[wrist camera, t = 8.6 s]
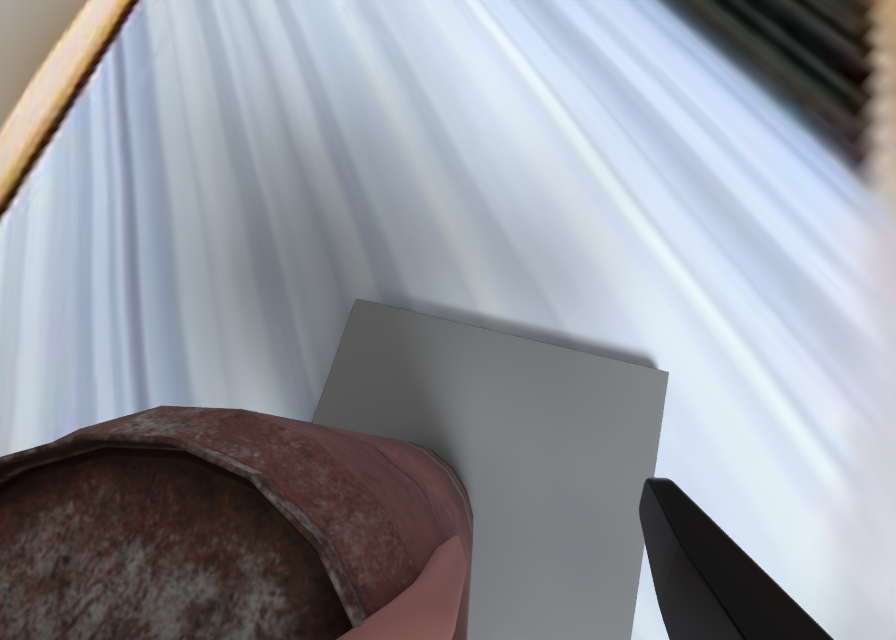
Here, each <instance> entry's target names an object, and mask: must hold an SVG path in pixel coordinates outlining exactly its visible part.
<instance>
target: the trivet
mask: <svg viewBox="0 0 896 640" xmlns="http://www.w3.org/2000/svg"><path fill="white" fill-rule="evenodd" d="M668 375H669V372H666V371H662V370H658V369H653V368H649V367H645V366H641V365H636V364H632V363H628V362H624V361H619V360H615V359H611V358H607V357H602V356H598V355H594V354H590V353H585V352H581V351H577V350H573V349H568V348H564V347H560V346H556V345H552V344H547V343H543V342H539V341H535V340H530V339H526V338H522V337H518V336H513V335H509V334H505V333H501V332H496V331H492V330H488V329H484V328H479V327H475V326H471V325H467V324H462V323H458V322H454V321H450V320H445V319H441V318H437V317H433V316H428V315H424V314H420V313H416V312H412V311H407V310H403V309H399V308H395V307H390V306H386V305H382V304H378V303H373V302H369V301H365V300H361V299H356V300H355V303H354V305H353V308H352V311H351V314H350V317H349V320H348V322H347V325H346V328H345V331H344V334H343V337H342V340H341V342H340V345H339V348H338V351H337V354H336V357H335V359H334V362H333V365H332V368H331V371H330V374H329V376H328V379H327V382H326V385H325V388H324V391H323V393H322V396H321V399H320V402H319V405H318V408H317V411H316V413H315V416H314V419H313V422H312V423H314V424H319V425H325V426H330V427H335V428H340V429H345V430H350V431H355V432H360V433H365V434H370V435H376V436H381V437H386V438H391V439H396V440H401V441H406V442H411V443H414V444H417V445H419V446H422V447H424V448H427V449H429V450H432V451H434V452H435V453H437V454H438V455H439V456H440V457H441V458H442V459H444V460H445V461H446V462H447V463H448V464H449V465H451V466H452V467H453V469H454V470H455V472H456V473H457V475H458V477H459V478H460V480H461V481H462V483H463V485H464V486H465V488H466V490H467V493H468V497H469V501H470V505H471V508H472V512H473V516H474V518H473V550H472V566H471V582H470V598H469V615H468V631H467V640H631V634H632V627H633V620H634V613H635V606H636V599H637V592H638V585H639V578H640V571H641V564H642V557H643V550H644V543H645V541H644V536H643V531H642V527H641V522H640V517H639V503H640V499H641V495H642V491H643V486H644V482H645V480H646V479H647V478H650V477H651V478H654V473H655V466H656V459H657V452H658V445H659V438H660V431H661V424H662V417H663V410H664V403H665V396H666V389H667V382H668Z"/></svg>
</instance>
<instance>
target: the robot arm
mask: <svg viewBox="0 0 896 640" xmlns="http://www.w3.org/2000/svg"><path fill="white" fill-rule="evenodd" d="M639 517H640V522H641V527H642V531H643V536H644V541H645V545H646V550H647V554H648V559H649V564H650V568H651V573H652V577H653V582H654V587H655V591H656V595H657V600H658V604H659V607H660V611H661V614H662V618H663V621H664V624H665V627H666V630H667V633H668V636H669V639H670V640H834V639H833V638H832V637H831V636H830V635H829V634H828V633H827V632H826V631H825V630H824V629H823V628H822V627H821V626H820V625H819V624H818V623H816V622H815V621H814V620H813V619H812V618H811V617H810V616H809V615H808V614H807V613H806V612H805V611H804V610H803V609H802V608H801V607H800V606H799V605H798V604H797V603H796V602H795V601H794V600H793V599H792V598H791V597H790V596H789V595H788V594H787V593H786V592H785V591H784V590H783V589H782V588H781V587H780V586H779V585H778V584H777V583H776V582H775V581H774V580H773V579H772V578H771V577H770V576H769V575H768V574H767V573H766V572H765V571H764V570H763V569H762V568H761V567H760V566H759V565H758V564H757V563H756V562H755V561H753V560H752V559H751V558H750V557H749V556H748V555H747V554H746V553H745V552H744V551H743V550H742V549H741V548H740V547H739V546H738V545H737V544H736V543H735V542H734V541H733V540H732V539H731V538H730V537H729V536H728V535H727V534H726V533H725V532H724V531H723V530H722V529H721V528H720V527H719V526H718V525H717V524H716V523H715V522H714V521H713V520H712V519H711V518H710V517H709V516H708V515H707V514H706V513H705V512H704V511H703V510H702V509H701V508H700V507H699V506H698V505H697V504H696V503H695V502H694V501H693V500H691V499H690V498H689V497H688V496H687V495H686V494H685V493H684V492H683V491H682V490H681V489H680V488H679V487H678V486H677V485H676V484H675V483H674V482H673V481H672V480H670V479H667V478H651V477H650V478H647V479H646V480H645V482H644V486H643V491H642V495H641V499H640V503H639Z"/></svg>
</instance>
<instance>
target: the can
mask: <svg viewBox="0 0 896 640" xmlns="http://www.w3.org/2000/svg"><path fill="white" fill-rule="evenodd" d="M473 518H474V516H473V512H472V508H471V505H470V501H469V497H468V493H467V490H466V488H465V486H464V485H463V483H462V481H461V480H460V478H459V477H458V475H457V473H456V472H455V470H454V469H453V467H452V466H451V465H449V464H448V463H447V462H446V461H445V460H444V459H442V458H441V457H440V456H439V455H438V454H437V453H435V452H434V451H432V450H429V449H427V448H424V447H422V446H419V445H417V444H414V443H411V442H406V441H401V440H396V439H391V438H386V437H381V436H376V435H370V434H365V433H360V432H355V431H350V430H345V429H340V428H335V427H330V426H325V425H319V424H314V423H309V422H304V421H299V420H294V419H289V418H284V417H279V416H273V415H268V414H263V413H258V412H253V411H248V410H243V409H225V408H201V407H178V406H159V407H156V408H152V409H149V410H145V411H142V412H138V413H135V414H131V415H127V416H124V417H120V418H117V419H113V420H110V421H106V422H103V423H99V424H96V425H92V426H89V427H85V428H81V429H79V430H77V431H75V432H72V433H70V434H68V435H66V436H64V437H62V438H60V439H58V440H56V441H54V442H52V443H48V444H45V445H41V446H38V447H34V448H31V449H27V450H24V451H20V452H17V453H13V454H10V455H6V456H2V457H0V640H467V631H468V615H469V598H470V582H471V566H472V550H473Z"/></svg>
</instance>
